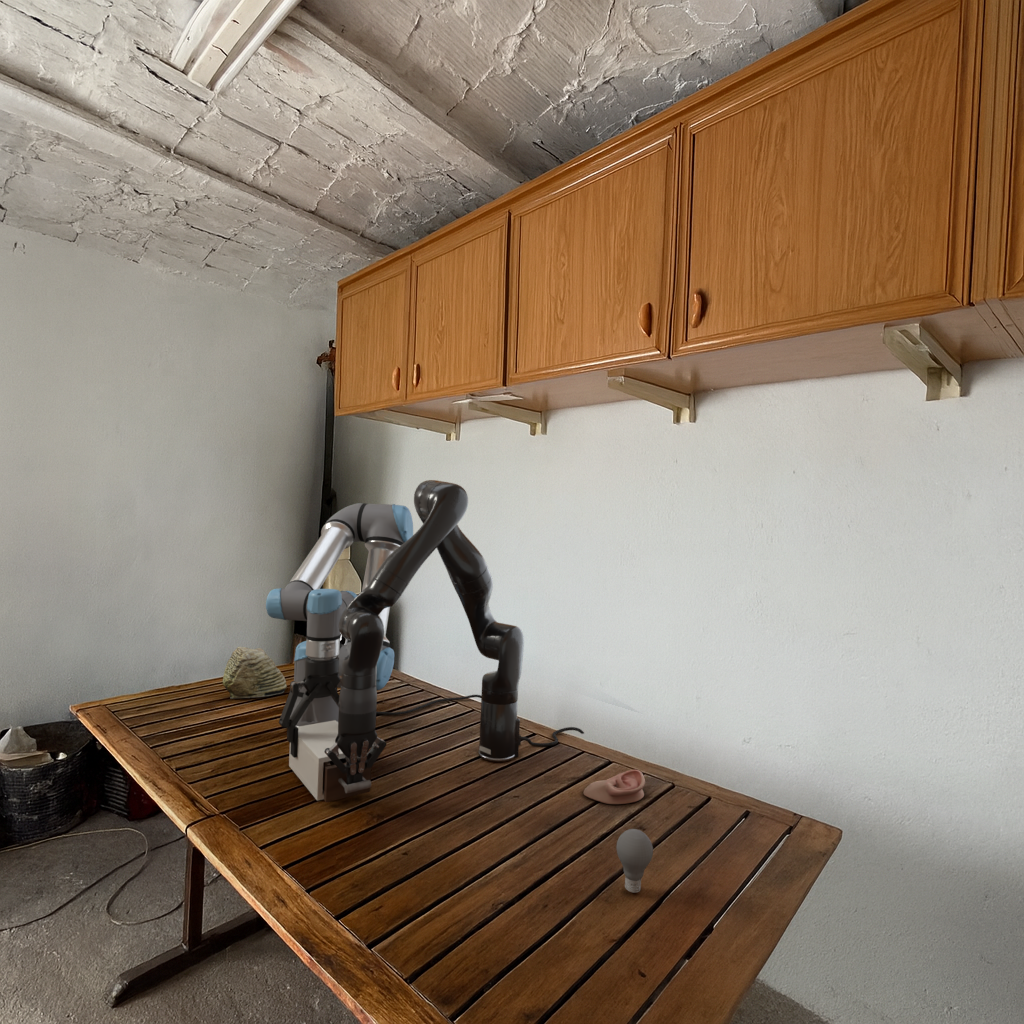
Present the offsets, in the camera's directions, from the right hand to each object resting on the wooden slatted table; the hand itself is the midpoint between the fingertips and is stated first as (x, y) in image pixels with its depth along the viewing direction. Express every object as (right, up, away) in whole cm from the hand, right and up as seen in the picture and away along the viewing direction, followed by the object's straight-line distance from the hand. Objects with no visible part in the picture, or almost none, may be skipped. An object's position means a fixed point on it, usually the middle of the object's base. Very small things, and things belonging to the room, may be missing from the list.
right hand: (354, 789), depth 130 cm
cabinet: (-10, -3, +13) cm, 17 cm away
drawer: (-6, -2, +8) cm, 10 cm away
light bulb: (+52, -6, -24) cm, 58 cm away
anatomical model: (+55, -6, +11) cm, 56 cm away
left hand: (-13, +1, +18) cm, 22 cm away
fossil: (-48, 0, +68) cm, 84 cm away
